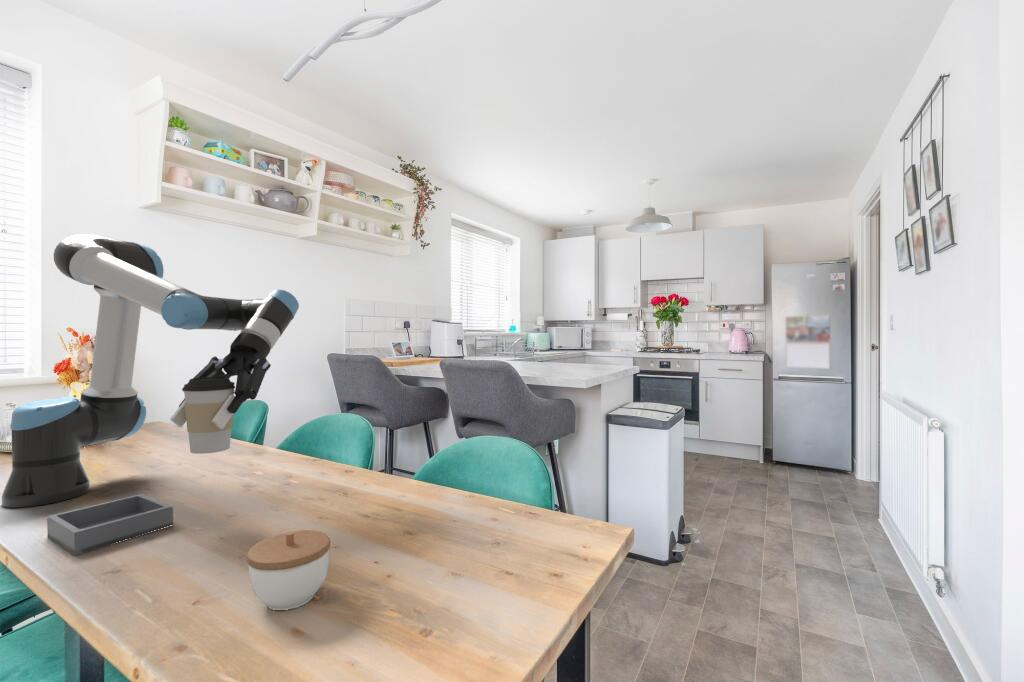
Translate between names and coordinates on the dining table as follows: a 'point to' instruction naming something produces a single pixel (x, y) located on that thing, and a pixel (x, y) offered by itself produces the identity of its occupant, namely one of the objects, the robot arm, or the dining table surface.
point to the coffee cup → (207, 413)
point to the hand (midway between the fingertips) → (196, 424)
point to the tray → (108, 523)
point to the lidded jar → (288, 568)
